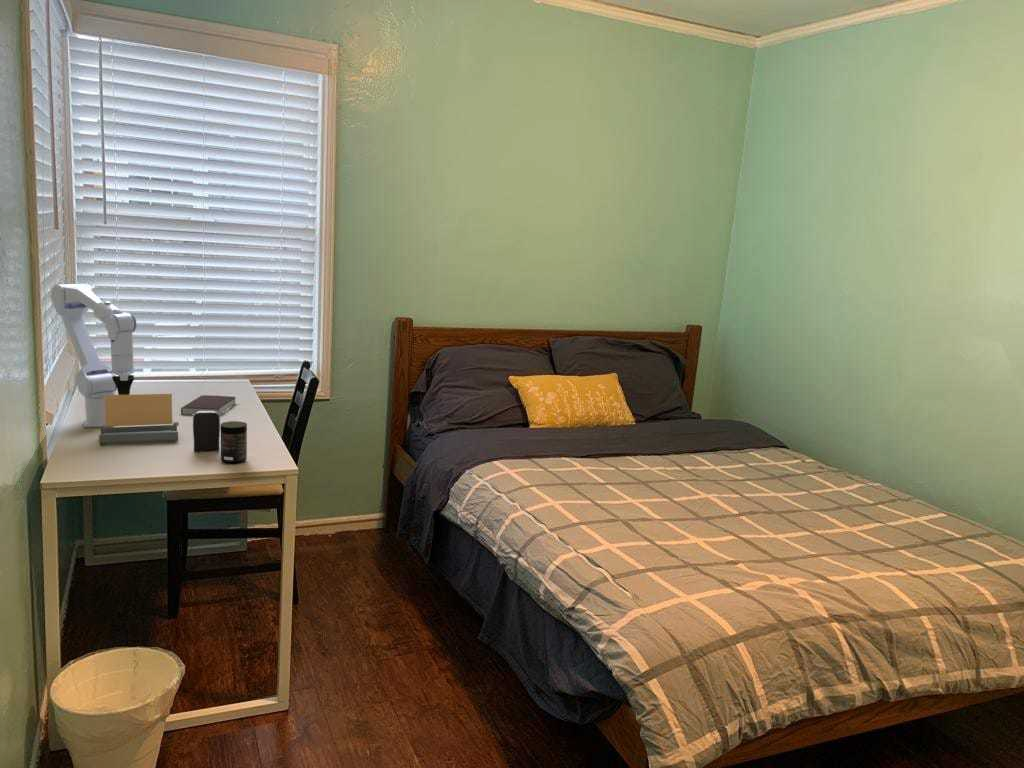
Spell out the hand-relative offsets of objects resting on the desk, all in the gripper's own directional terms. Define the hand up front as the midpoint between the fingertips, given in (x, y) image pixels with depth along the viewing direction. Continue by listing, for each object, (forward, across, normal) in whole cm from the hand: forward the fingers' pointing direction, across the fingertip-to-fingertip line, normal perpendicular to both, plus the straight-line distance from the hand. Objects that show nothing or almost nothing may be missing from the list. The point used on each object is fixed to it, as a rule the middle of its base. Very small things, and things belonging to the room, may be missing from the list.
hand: (124, 400), depth 225 cm
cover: (+2, +5, +4) cm, 6 cm away
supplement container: (+11, +36, +25) cm, 45 cm away
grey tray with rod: (+10, +9, +3) cm, 14 cm away
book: (+10, -25, +27) cm, 38 cm away
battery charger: (+11, +24, +20) cm, 33 cm away
